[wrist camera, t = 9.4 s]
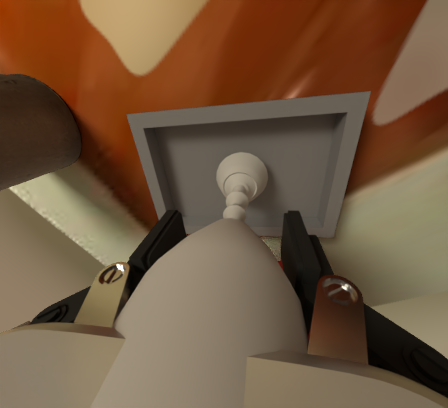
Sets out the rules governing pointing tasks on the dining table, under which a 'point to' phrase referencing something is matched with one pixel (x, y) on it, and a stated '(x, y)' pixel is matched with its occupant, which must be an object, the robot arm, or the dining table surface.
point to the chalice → (206, 311)
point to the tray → (258, 146)
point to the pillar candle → (33, 130)
